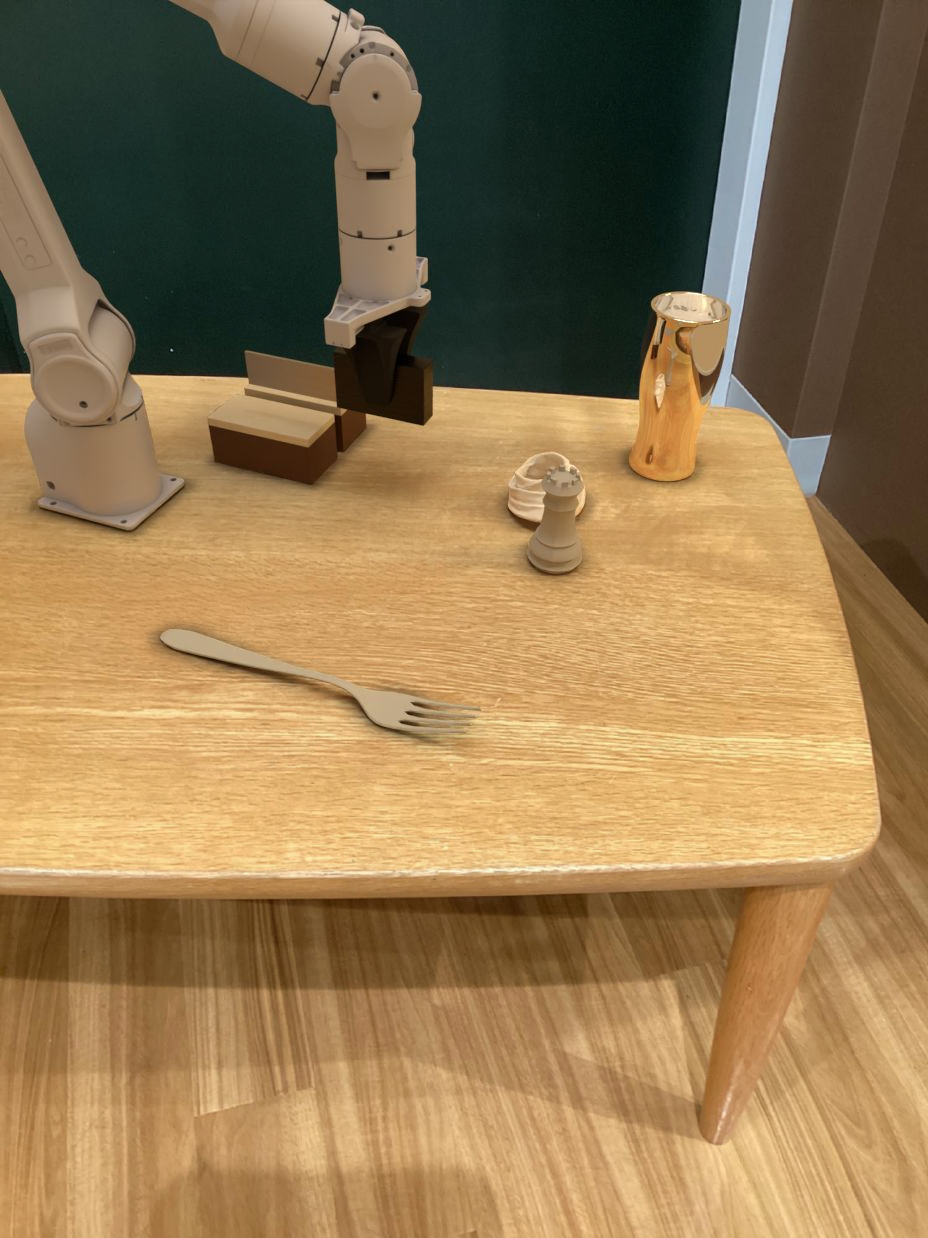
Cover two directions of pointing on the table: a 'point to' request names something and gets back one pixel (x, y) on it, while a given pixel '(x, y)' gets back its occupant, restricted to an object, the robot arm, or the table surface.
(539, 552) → the rook chess piece
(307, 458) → the cake
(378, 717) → the fork
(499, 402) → the table surface
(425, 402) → the two-tone wooden slat
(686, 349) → the copper metal vase
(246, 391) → the cake slice
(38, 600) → the table surface
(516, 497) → the white ruffled curved piece
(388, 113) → the robot arm
